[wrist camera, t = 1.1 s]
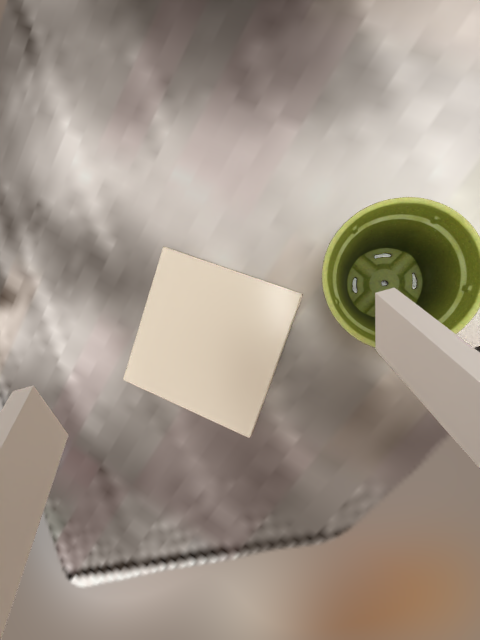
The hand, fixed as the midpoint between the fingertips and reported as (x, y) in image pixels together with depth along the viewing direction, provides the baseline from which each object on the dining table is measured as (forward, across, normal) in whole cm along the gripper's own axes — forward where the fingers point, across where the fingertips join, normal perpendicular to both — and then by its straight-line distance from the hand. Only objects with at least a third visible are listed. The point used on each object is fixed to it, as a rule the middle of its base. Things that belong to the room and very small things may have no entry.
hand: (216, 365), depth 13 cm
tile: (+18, -1, -10) cm, 21 cm away
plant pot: (+14, +14, -7) cm, 22 cm away
